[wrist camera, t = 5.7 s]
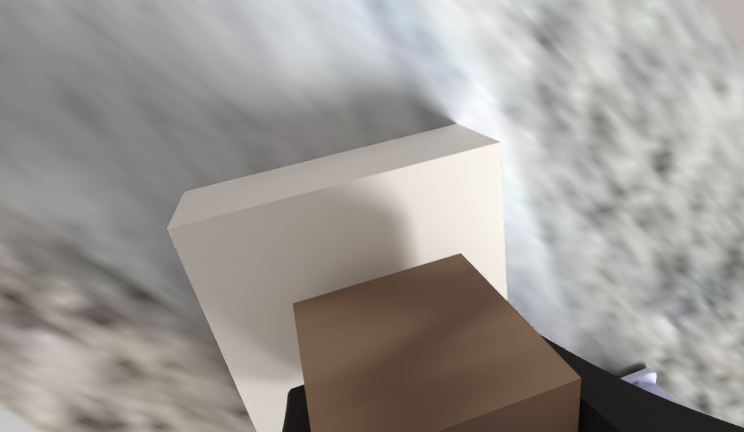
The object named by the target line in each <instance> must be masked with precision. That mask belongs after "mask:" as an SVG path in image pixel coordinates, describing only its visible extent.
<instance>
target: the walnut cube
mask: <svg viewBox="0 0 744 432" xmlns="http://www.w3.org/2000/svg"><path fill="white" fill-rule="evenodd" d="M293 309H294V316H295V323H296V330H297V337H298V344H299V351H300V358H301V365H302V372H303V379H304V386H305V393H306V400H307V407H308V414H309V421H310V428H311V432H578V421H579V406H580V390H581V377H580V376H579V375H578V374H577V373H576V372H575V371H574V370H573V369H572V368H571V367H570V366H569V365H568V364H567V363H566V362H565V361H564V360H563V359H562V358H561V357H560V356H559V355H558V353H557V352H556V351H555V350H554V349H553V348H552V347H551V346H550V345H549V344H548V343H547V342H546V341H545V340H544V339H543V338H542V337H541V336H540V335H539V334H538V333H537V332H536V331H535V330H534V329H533V327H532V326H531V325H530V324H529V323H528V322H527V321H526V320H525V319H524V318H523V317H522V316H521V315H520V314H519V313H518V312H517V311H516V310H515V309H514V308H513V307H512V306H511V305H510V304H509V303H508V301H507V300H506V299H505V298H504V297H503V296H502V295H501V294H500V293H499V292H498V291H497V290H496V289H495V288H494V287H493V286H492V285H491V284H490V283H489V282H488V281H487V280H486V279H485V278H484V276H483V275H482V274H481V273H480V272H479V271H478V270H477V269H476V268H475V267H474V266H473V265H472V264H471V263H470V262H469V261H468V260H467V259H466V258H465V257H464V256H463V255H462V254H461V253H460V254H456V255H453V256H450V257H446V258H443V259H440V260H436V261H433V262H430V263H426V264H423V265H419V266H416V267H413V268H409V269H406V270H403V271H399V272H396V273H393V274H389V275H386V276H383V277H379V278H376V279H373V280H369V281H366V282H363V283H359V284H356V285H353V286H349V287H346V288H343V289H339V290H336V291H333V292H329V293H326V294H323V295H319V296H316V297H313V298H309V299H306V300H303V301H299V302H296V303H293Z"/></svg>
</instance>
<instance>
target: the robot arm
mask: <svg viewBox="0 0 744 432" xmlns="http://www.w3.org/2000/svg"><path fill="white" fill-rule="evenodd" d="M539 335H540V334H539ZM540 336H541V335H540ZM541 337H542V338H543V339H544V340H545V341H546V342H547V343H548V344H549V345H550V346H551V347H552V348H553V349H554V350H555V351H556V352H557V353H558V355H559V356H560V357H561V358H562V359H563V360H564V361H565V362H566V363H567V364H568V365H569V366H570V367H571V368H572V369H573V370H574V371H575V372H576V373H577V374H578V375H579V376H580V377H581V390H580V406H579V421H578V432H744V428H743V427H740V426H737V425H734V424H731V423H728V422H725V421H723V420H720V419H717V418H714V417H712V416H709V415H706V414H703V413H700V412H698V411H695V410H692V409H690V408H687V407H685V406H682V405H680V404H679V403H677V402H676V401H675V400H674V399H673V398H672V397H670V396H669V395H668V394H667V393H666V392H665V391H663V390H662V389H661V388H660V387H659V386H658V385H656V384H655V383H656V373H655V372H654V371H653V370H652V369H650V368H646V369H643V370H640V371H637V372H635V373H632V374H630V375H627V376H624V377H622V378H619V377H617V376H615V375H613V374H611V373H608V372H606V371H604V370H602V369H600V368H599V367H597V366H595V365H593V364H591V363H589V362H587V361H585V360H584V359H582V358H580V357H578V356H576V355H574V354H573V353H571V352H569V351H567V350H565V349H564V348H562V347H560V346H558V345H557V344H555V343H553V342H552V341H550V340H548V339H546V338H545V337H543V336H541ZM282 432H311V428H310V421H309V414H308V407H307V400H306V393H305V386H304V385H301V386H298V387H295V388H292V389H290V391H289V392H288V395H287V405H286V412H285V419H284V424H283V429H282Z"/></svg>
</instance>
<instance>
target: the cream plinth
mask: <svg viewBox="0 0 744 432" xmlns="http://www.w3.org/2000/svg"><path fill="white" fill-rule="evenodd" d="M167 231H168V233H169V236H170V238H171V240H172V242H173V245H174V247H175V249H176V251H177V254H178V256H179V258H180V260H181V263H182V265H183V267H184V269H185V272H186V274H187V276H188V278H189V281H190V283H191V285H192V287H193V290H194V292H195V294H196V296H197V299H198V301H199V303H200V305H201V308H202V310H203V312H204V314H205V317H206V319H207V321H208V323H209V326H210V328H211V330H212V332H213V335H214V337H215V339H216V341H217V344H218V346H219V348H220V350H221V353H222V355H223V357H224V359H225V362H226V364H227V366H228V368H229V371H230V373H231V375H232V377H233V380H234V382H235V384H236V386H237V389H238V391H239V393H240V395H241V398H242V400H243V402H244V404H245V407H246V409H247V411H248V413H249V416H250V418H251V420H252V422H253V425H254V427H255V429H256V431H257V432H282V429H283V424H284V419H285V412H286V405H287V395H288V392H289V391H290V389H292V388H295V387H298V386H301V385H304V379H303V372H302V365H301V358H300V351H299V344H298V337H297V330H296V323H295V316H294V309H293V303H296V302H299V301H303V300H306V299H309V298H313V297H316V296H319V295H323V294H326V293H329V292H333V291H336V290H339V289H343V288H346V287H349V286H353V285H356V284H359V283H363V282H366V281H369V280H373V279H376V278H379V277H383V276H386V275H389V274H393V273H396V272H399V271H403V270H406V269H409V268H413V267H416V266H419V265H423V264H426V263H430V262H433V261H436V260H440V259H443V258H446V257H450V256H453V255H456V254H460V253H461V254H462V255H463V256H464V257H465V258H466V259H467V260H468V261H469V262H470V263H471V264H472V265H473V266H474V267H475V268H476V269H477V270H478V271H479V272H480V273H481V274H482V275H483V276H484V278H485V279H486V280H487V281H488V282H489V283H490V284H491V285H492V286H493V287H494V288H495V289H496V290H497V291H498V292H499V293H500V294H501V295H502V296H503V297H504V298H505V299H506V300H507V281H506V258H505V235H504V212H503V190H502V167H501V144H500V142H499V141H497V140H494V139H492V138H489V137H487V136H485V135H482V134H480V133H477V132H475V131H473V130H470V129H468V128H466V127H463V126H461V125H458V124H453V125H449V126H445V127H441V128H437V129H433V130H429V131H425V132H421V133H417V134H413V135H409V136H405V137H401V138H397V139H393V140H389V141H385V142H381V143H377V144H373V145H369V146H365V147H361V148H357V149H353V150H349V151H345V152H341V153H337V154H333V155H329V156H325V157H321V158H317V159H313V160H309V161H305V162H301V163H297V164H293V165H289V166H285V167H281V168H277V169H272V170H268V171H264V172H260V173H256V174H252V175H248V176H244V177H240V178H236V179H232V180H228V181H224V182H220V183H216V184H212V185H208V186H204V187H200V188H196V189H192V190H188V191H184V193H183V195H182V197H181V199H180V202H179V204H178V206H177V208H176V210H175V212H174V214H173V217H172V219H171V221H170V223H169V225H168V227H167Z"/></svg>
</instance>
